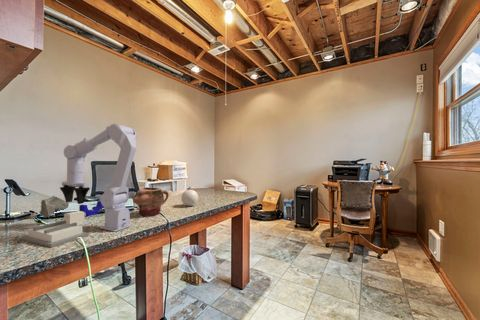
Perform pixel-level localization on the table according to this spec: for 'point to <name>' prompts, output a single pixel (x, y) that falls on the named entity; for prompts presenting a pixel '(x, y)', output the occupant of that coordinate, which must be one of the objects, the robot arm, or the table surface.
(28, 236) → the stepped base plate
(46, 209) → the mineral rock
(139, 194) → the brown handled pot
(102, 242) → the table surface
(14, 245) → the table surface
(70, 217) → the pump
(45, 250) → the table surface
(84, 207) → the cable clip
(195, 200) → the ornament
